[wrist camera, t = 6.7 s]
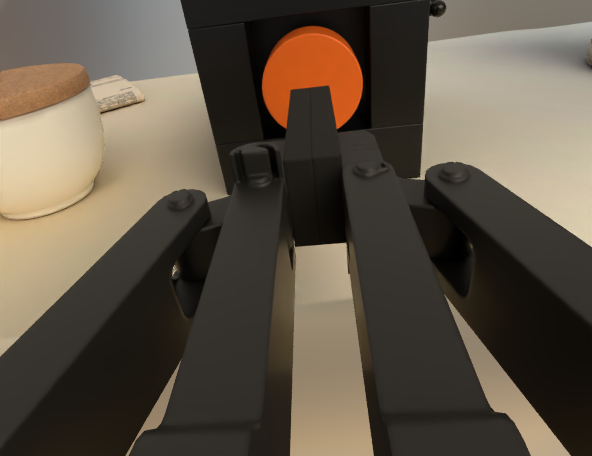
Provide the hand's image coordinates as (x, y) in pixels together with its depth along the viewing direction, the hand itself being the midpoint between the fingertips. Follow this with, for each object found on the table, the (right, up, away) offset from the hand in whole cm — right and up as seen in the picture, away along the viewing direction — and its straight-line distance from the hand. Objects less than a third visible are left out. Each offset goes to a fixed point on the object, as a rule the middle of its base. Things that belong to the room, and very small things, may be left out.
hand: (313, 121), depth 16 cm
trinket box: (-18, -2, +13) cm, 22 cm away
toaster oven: (+2, +3, +16) cm, 16 cm away
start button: (0, +1, +6) cm, 6 cm away
